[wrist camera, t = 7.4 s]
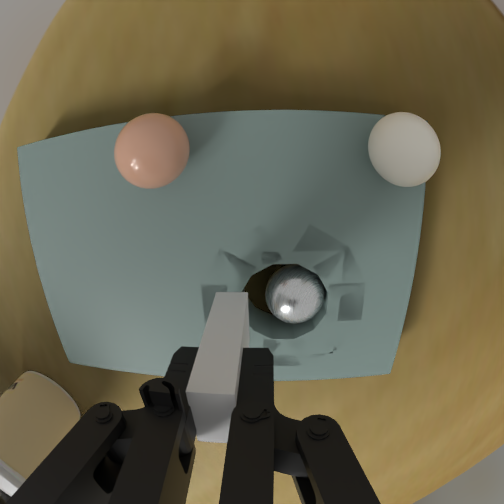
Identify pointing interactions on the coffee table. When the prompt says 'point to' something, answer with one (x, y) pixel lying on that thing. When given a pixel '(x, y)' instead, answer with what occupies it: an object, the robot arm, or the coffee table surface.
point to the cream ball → (404, 149)
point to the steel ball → (294, 294)
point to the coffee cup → (31, 426)
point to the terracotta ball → (151, 150)
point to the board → (224, 241)
